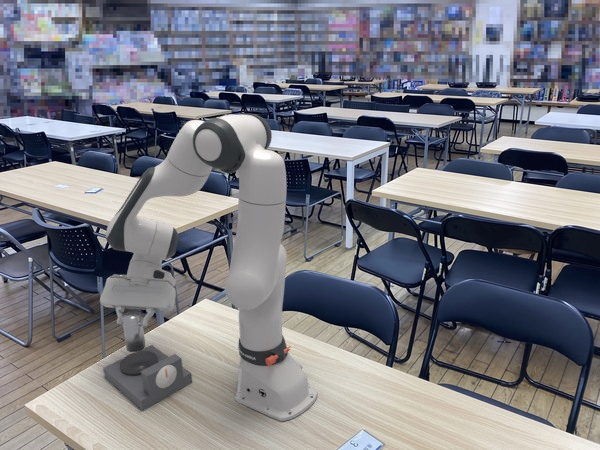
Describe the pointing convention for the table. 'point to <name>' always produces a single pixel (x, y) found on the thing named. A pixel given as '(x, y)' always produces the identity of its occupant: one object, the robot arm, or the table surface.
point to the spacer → (133, 331)
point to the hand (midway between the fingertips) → (131, 324)
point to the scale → (148, 376)
